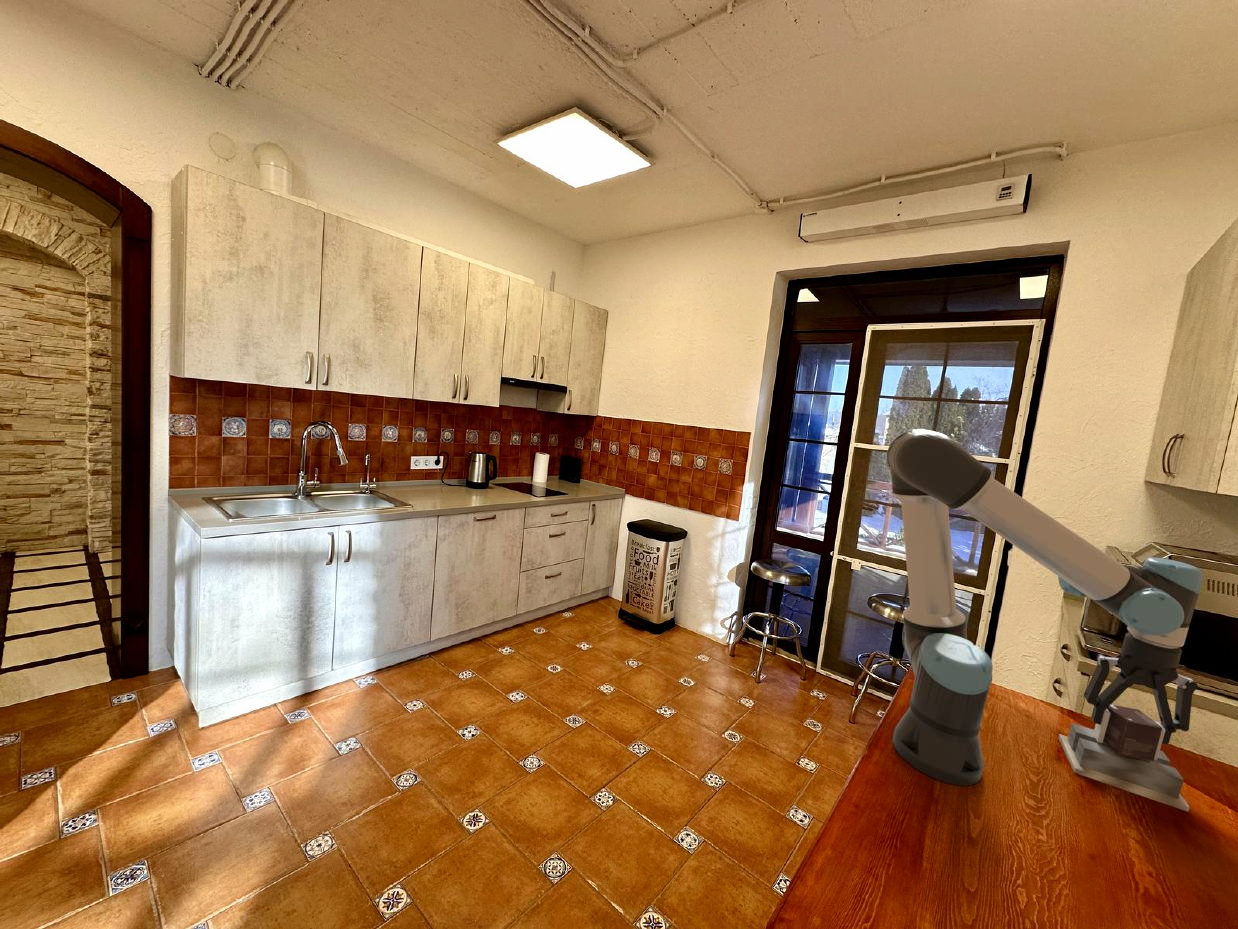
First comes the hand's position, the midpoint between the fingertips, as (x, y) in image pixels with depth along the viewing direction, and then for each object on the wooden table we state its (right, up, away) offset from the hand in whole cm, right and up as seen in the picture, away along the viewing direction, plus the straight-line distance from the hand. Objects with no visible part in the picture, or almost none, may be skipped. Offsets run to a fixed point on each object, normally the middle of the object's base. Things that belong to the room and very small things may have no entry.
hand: (1123, 746), depth 100 cm
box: (0, -1, 0) cm, 0 cm away
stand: (0, -5, +1) cm, 6 cm away
